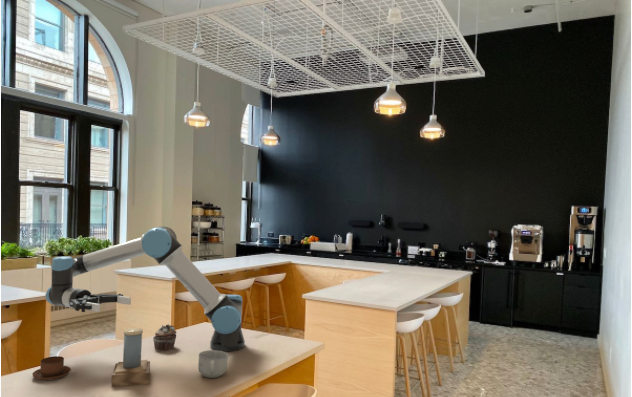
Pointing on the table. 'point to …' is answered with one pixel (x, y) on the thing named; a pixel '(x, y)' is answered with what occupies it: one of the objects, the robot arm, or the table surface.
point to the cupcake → (165, 338)
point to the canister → (132, 347)
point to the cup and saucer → (51, 368)
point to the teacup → (212, 363)
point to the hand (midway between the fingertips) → (115, 304)
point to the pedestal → (131, 374)
